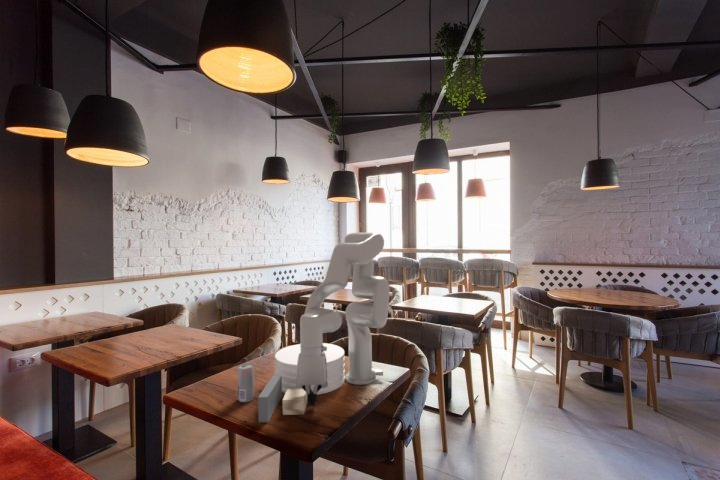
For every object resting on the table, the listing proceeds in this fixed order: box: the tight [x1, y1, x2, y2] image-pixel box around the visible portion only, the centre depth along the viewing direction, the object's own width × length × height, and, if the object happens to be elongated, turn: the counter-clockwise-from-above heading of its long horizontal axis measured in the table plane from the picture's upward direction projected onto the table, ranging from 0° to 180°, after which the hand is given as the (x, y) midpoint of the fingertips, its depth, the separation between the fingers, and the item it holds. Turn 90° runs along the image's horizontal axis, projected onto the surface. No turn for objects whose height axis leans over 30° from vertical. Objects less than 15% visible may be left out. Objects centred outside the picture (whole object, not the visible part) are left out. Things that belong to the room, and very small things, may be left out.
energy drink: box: [237, 363, 255, 403], centre depth 128 cm, size 5×5×12 cm
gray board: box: [257, 374, 283, 423], centre depth 121 cm, size 3×18×8 cm, turn 179°
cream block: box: [282, 388, 308, 416], centre depth 121 cm, size 7×9×5 cm
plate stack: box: [274, 342, 346, 396], centre depth 144 cm, size 28×28×12 cm
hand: (312, 404), depth 120 cm, fingers closed
